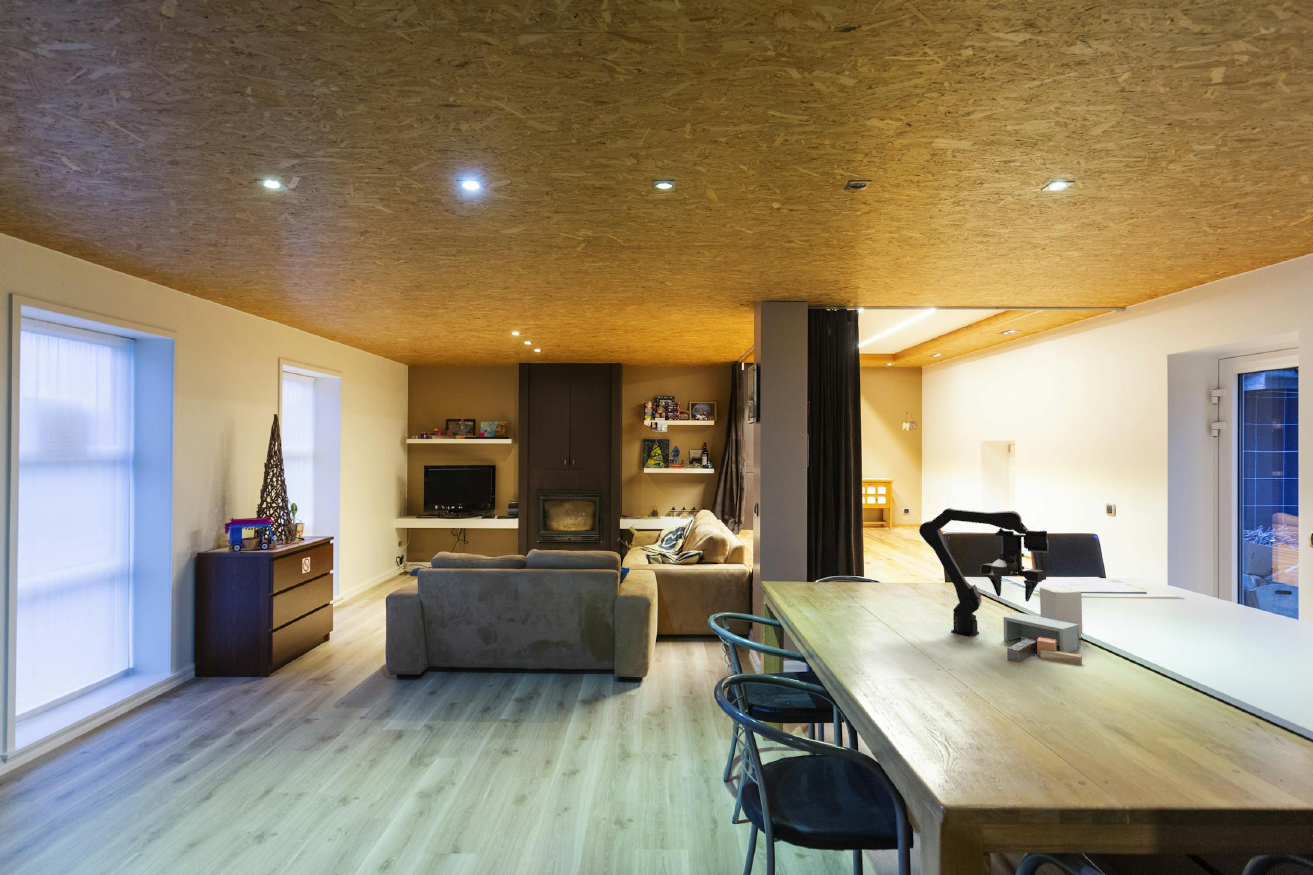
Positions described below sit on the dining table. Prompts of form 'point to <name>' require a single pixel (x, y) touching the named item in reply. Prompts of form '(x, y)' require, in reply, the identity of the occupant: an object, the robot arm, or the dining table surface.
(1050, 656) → the rod
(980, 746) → the dining table surface
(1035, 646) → the grey rectangular bar
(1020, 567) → the robot arm
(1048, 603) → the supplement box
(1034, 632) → the cubby
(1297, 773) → the dining table surface
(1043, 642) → the block
